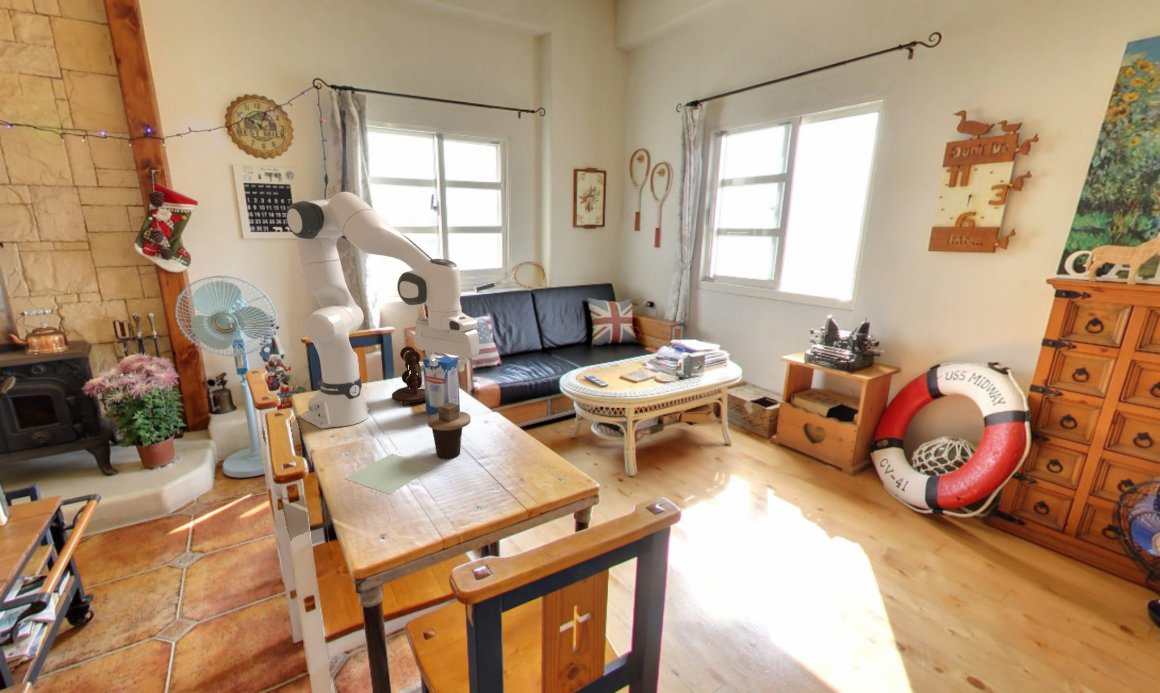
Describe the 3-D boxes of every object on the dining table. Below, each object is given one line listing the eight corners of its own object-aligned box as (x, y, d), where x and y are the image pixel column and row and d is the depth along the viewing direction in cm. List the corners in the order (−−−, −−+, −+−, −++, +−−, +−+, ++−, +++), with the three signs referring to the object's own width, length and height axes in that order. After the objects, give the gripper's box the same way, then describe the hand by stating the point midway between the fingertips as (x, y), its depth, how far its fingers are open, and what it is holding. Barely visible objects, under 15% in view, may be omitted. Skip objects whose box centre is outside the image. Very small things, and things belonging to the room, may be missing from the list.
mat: (344, 480, 126) (344, 478, 126) (392, 455, 140) (391, 453, 140) (389, 496, 119) (389, 494, 119) (434, 468, 133) (434, 466, 133)
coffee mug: (455, 464, 135) (454, 431, 133) (427, 460, 137) (425, 428, 135) (472, 446, 146) (471, 415, 144) (446, 443, 148) (445, 412, 146)
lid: (418, 424, 137) (417, 408, 135) (447, 411, 147) (446, 395, 146) (451, 433, 132) (450, 416, 130) (479, 418, 142) (478, 402, 141)
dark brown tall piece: (438, 401, 182) (435, 350, 177) (397, 409, 174) (393, 355, 169) (427, 390, 194) (424, 342, 189) (388, 396, 186) (384, 346, 181)
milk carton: (425, 413, 170) (422, 359, 166) (437, 407, 176) (434, 354, 171) (449, 418, 167) (446, 362, 162) (460, 412, 172) (457, 358, 167)
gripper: (408, 317, 133) (410, 365, 137) (467, 326, 125) (468, 377, 128) (424, 313, 139) (426, 360, 142) (482, 322, 130) (483, 371, 134)
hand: (447, 368), depth 135 cm, fingers open, 8 cm apart
